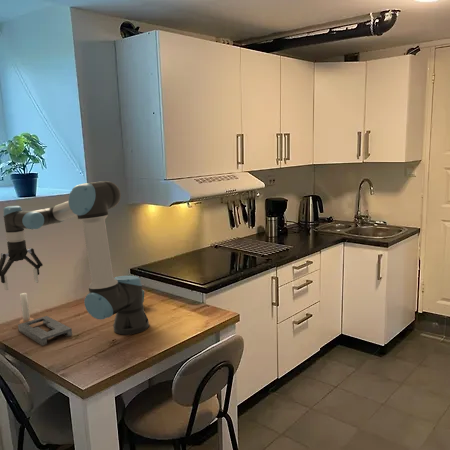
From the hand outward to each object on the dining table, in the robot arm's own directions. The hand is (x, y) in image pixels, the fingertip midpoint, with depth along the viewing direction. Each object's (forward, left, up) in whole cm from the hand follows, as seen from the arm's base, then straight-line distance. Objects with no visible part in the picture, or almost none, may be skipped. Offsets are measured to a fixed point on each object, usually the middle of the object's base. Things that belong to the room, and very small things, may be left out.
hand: (21, 285), depth 205 cm
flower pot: (-25, -42, -18) cm, 52 cm away
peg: (0, 0, -18) cm, 18 cm away
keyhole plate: (-19, 0, -18) cm, 26 cm away
